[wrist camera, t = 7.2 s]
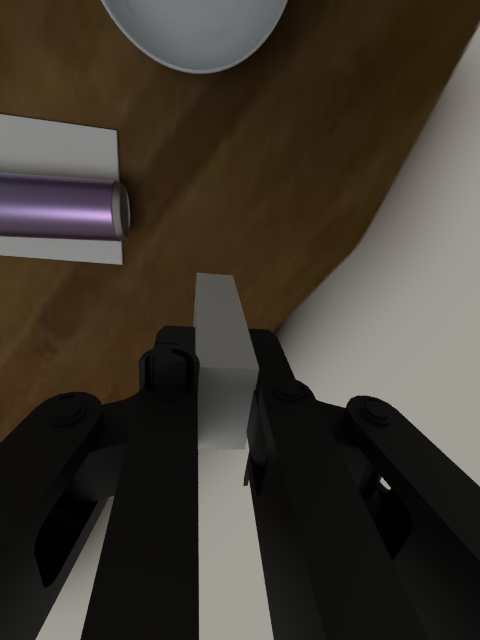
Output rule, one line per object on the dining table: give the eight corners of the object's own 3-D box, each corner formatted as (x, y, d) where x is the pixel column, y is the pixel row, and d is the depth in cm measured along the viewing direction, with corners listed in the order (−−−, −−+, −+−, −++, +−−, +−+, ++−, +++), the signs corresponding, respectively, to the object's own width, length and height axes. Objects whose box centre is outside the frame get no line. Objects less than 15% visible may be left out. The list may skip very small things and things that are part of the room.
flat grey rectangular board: (-73, 104, 30) (-77, 103, 30) (117, 130, 33) (116, 130, 32) (-35, 251, 36) (-38, 252, 36) (123, 263, 39) (122, 264, 39)
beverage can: (115, 191, 29) (-72, 179, 27) (123, 251, 33) (-41, 245, 31) (126, 173, 34) (-32, 162, 32) (132, 228, 37) (-9, 221, 35)
